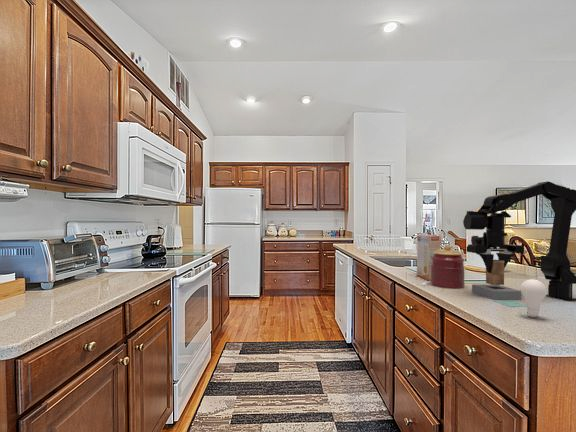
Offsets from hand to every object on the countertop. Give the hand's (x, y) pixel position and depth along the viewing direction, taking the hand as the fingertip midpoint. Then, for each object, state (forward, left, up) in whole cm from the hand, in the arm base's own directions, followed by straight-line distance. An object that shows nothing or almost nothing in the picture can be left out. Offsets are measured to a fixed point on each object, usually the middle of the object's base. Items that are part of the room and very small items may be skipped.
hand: (494, 272), depth 120 cm
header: (0, 0, -9) cm, 9 cm away
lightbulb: (+7, +24, -9) cm, 27 cm away
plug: (0, 0, -4) cm, 4 cm away
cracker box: (+5, -38, -9) cm, 39 cm away
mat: (+3, +11, -9) cm, 14 cm away
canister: (+7, -19, -9) cm, 22 cm away
